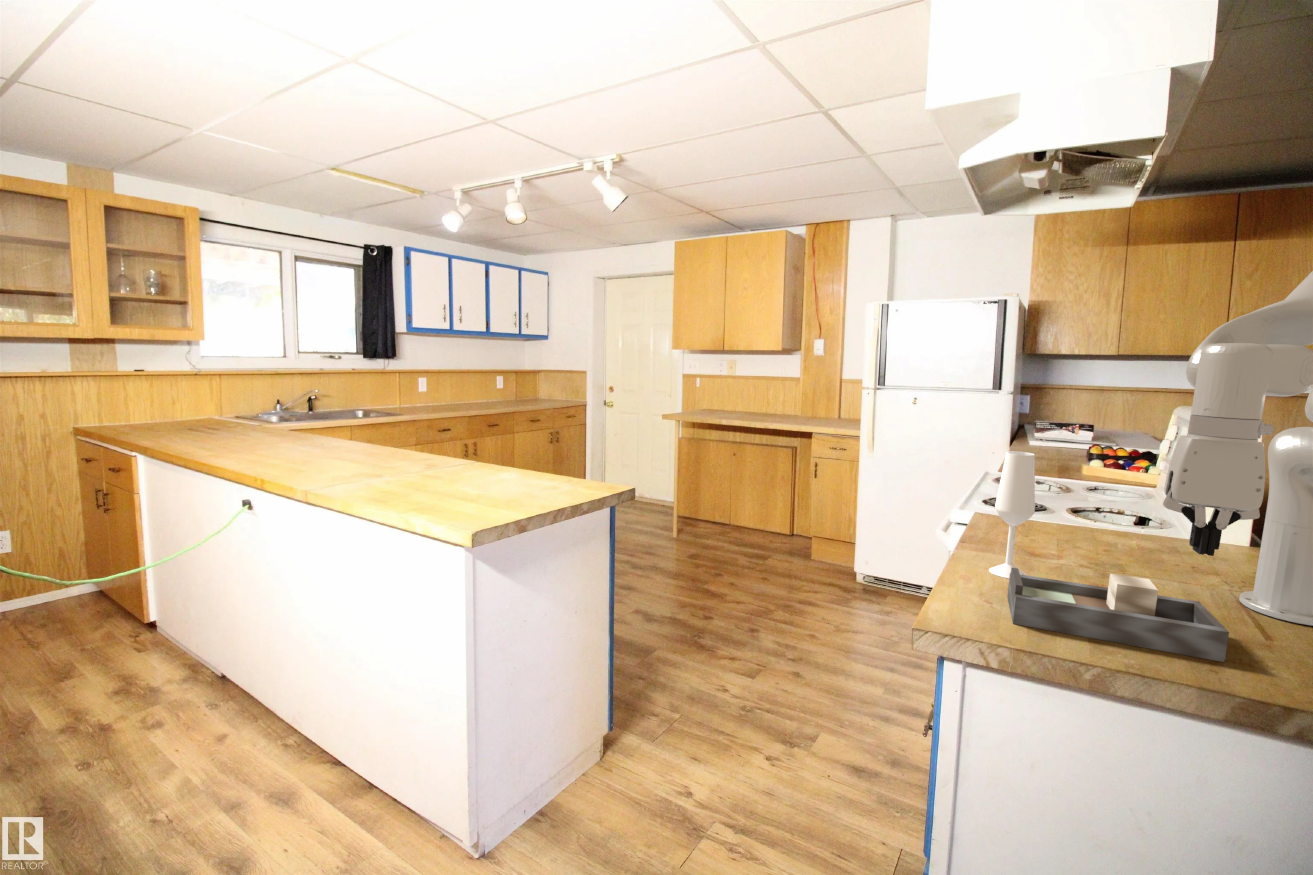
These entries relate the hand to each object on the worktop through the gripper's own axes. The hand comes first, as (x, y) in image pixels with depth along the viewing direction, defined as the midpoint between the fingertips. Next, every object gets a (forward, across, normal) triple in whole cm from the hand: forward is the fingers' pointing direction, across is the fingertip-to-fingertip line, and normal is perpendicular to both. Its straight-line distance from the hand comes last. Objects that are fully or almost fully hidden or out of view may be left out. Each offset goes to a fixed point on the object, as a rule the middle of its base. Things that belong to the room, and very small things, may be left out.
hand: (1202, 552), depth 90 cm
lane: (+14, +10, -1) cm, 18 cm away
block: (+11, +7, -1) cm, 13 cm away
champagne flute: (+14, +22, -21) cm, 34 cm away
